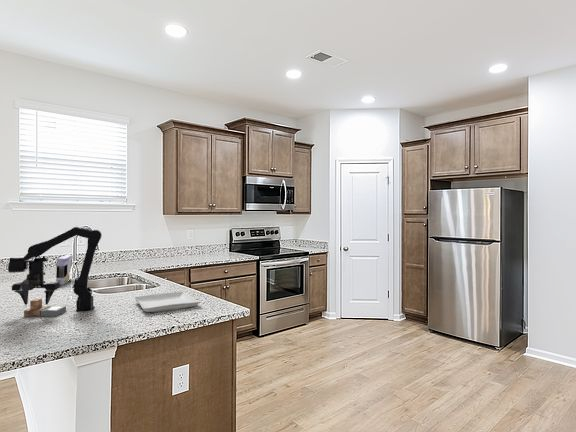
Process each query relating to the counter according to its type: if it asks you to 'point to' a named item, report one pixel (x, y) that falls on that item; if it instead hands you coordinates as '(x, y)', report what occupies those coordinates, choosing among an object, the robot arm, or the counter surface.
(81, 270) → the robot arm
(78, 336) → the counter surface
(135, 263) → the counter surface
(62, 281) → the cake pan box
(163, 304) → the square plate
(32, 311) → the block on square base
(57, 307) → the board
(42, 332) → the counter surface
